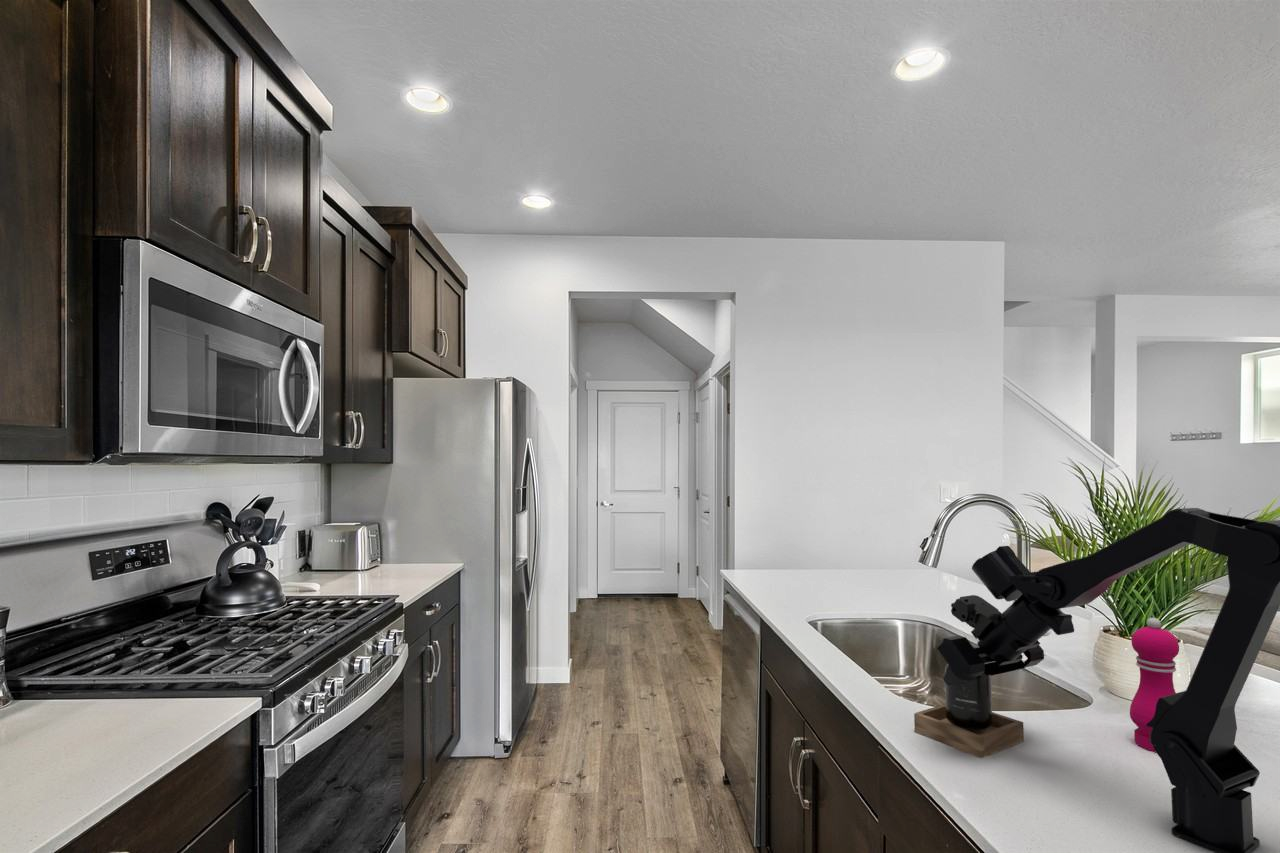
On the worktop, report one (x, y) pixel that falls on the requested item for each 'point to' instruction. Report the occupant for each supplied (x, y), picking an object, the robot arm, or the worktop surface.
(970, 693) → the supplement bottle
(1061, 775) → the worktop surface
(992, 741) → the tray
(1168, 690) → the pepper mill
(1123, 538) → the robot arm
